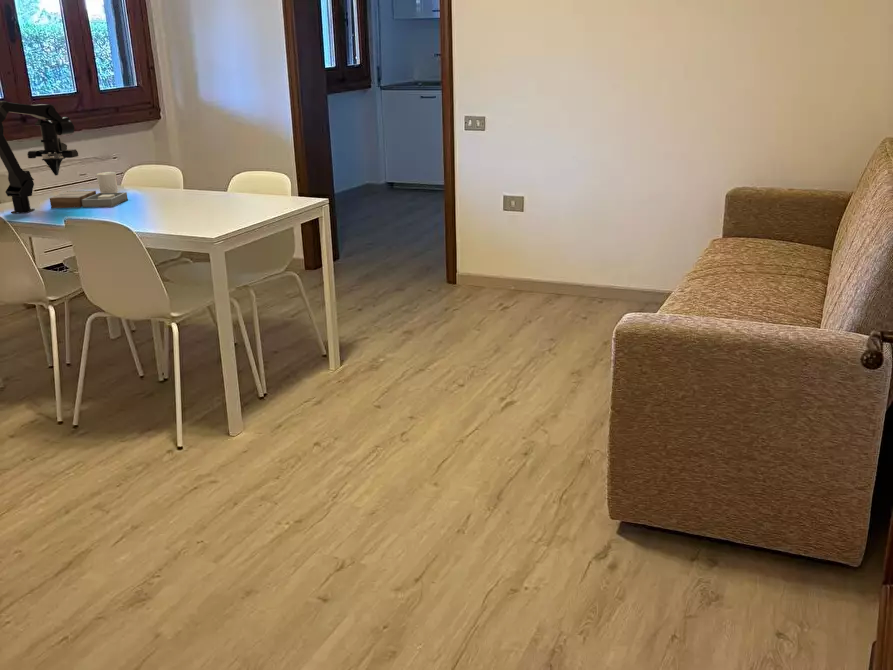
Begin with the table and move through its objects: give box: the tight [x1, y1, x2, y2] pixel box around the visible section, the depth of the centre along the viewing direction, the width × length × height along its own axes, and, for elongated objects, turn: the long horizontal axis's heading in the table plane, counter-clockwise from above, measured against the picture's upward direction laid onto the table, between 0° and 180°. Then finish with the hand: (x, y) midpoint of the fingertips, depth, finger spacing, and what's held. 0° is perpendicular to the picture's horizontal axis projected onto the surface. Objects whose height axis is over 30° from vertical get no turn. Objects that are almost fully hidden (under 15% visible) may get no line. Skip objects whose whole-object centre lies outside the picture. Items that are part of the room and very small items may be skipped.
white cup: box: [96, 171, 119, 193], centre depth 355 cm, size 8×8×10 cm
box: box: [82, 191, 128, 208], centre depth 341 cm, size 16×12×3 cm
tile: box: [98, 194, 115, 199], centre depth 341 cm, size 5×5×2 cm
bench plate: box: [49, 190, 97, 209], centre depth 341 cm, size 16×12×4 cm
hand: (56, 175), depth 339 cm, fingers closed
